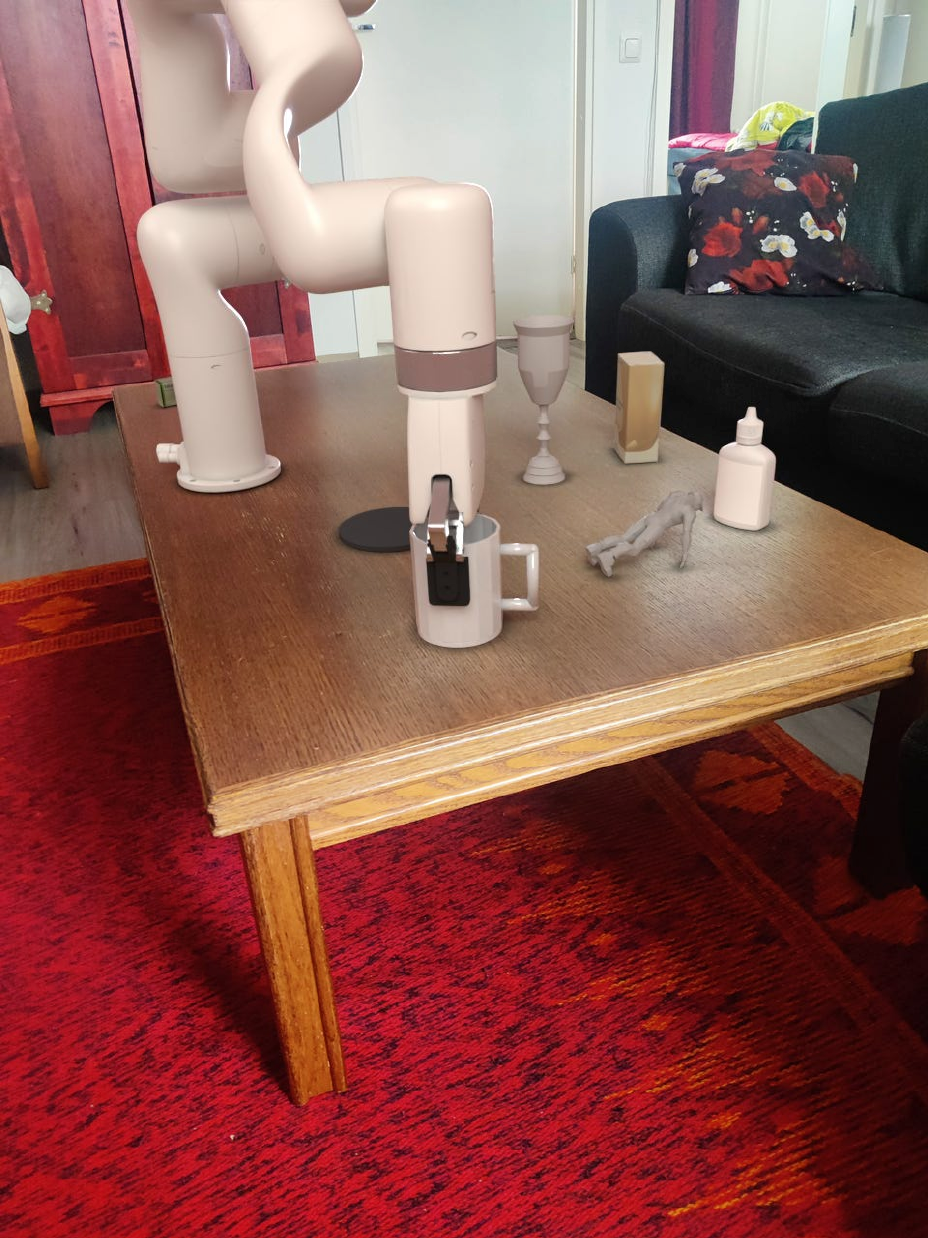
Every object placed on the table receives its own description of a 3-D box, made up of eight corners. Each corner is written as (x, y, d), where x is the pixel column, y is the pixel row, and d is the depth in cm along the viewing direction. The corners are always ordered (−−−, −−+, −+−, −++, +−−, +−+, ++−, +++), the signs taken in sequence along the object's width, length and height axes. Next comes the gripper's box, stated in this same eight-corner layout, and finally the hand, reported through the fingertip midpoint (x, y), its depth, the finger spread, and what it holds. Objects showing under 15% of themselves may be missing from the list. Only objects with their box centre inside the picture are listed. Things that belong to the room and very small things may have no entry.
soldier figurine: (624, 605, 88) (730, 541, 89) (607, 559, 85) (717, 493, 86) (591, 579, 93) (692, 518, 94) (574, 535, 90) (678, 473, 91)
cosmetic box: (612, 449, 121) (616, 352, 115) (646, 447, 121) (651, 349, 116) (624, 465, 115) (628, 363, 110) (659, 462, 116) (665, 361, 110)
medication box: (163, 408, 149) (158, 384, 147) (156, 403, 151) (152, 379, 149) (234, 393, 155) (230, 369, 153) (227, 388, 157) (223, 364, 155)
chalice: (569, 488, 109) (570, 327, 101) (510, 486, 110) (507, 327, 102) (575, 467, 115) (577, 314, 107) (520, 466, 117) (517, 315, 108)
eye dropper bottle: (734, 535, 95) (745, 417, 89) (708, 516, 100) (717, 403, 94) (774, 529, 96) (787, 412, 90) (746, 510, 101) (757, 398, 95)
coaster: (327, 551, 96) (326, 546, 96) (353, 511, 106) (352, 506, 105) (436, 553, 94) (436, 547, 94) (452, 511, 104) (452, 506, 104)
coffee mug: (410, 646, 78) (402, 545, 73) (425, 607, 84) (418, 511, 80) (536, 650, 76) (535, 547, 72) (541, 609, 83) (541, 512, 78)
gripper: (416, 343, 78) (429, 538, 86) (371, 397, 63) (392, 628, 71) (507, 341, 77) (511, 539, 85) (483, 396, 62) (492, 631, 70)
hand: (457, 579), depth 78 cm, fingers open, 8 cm apart
